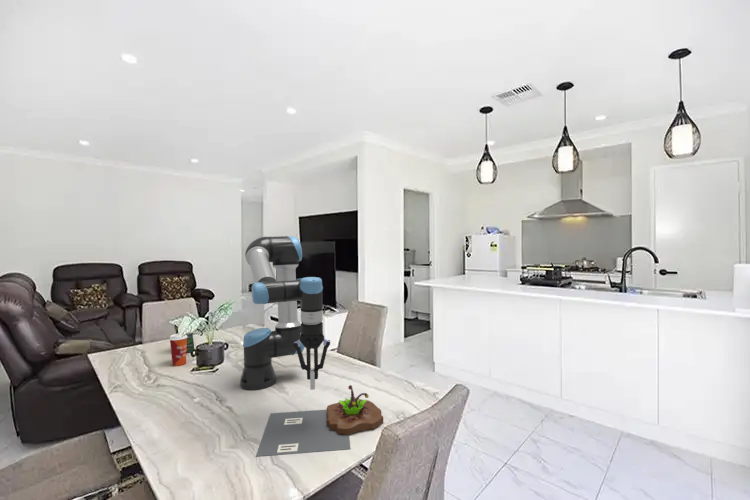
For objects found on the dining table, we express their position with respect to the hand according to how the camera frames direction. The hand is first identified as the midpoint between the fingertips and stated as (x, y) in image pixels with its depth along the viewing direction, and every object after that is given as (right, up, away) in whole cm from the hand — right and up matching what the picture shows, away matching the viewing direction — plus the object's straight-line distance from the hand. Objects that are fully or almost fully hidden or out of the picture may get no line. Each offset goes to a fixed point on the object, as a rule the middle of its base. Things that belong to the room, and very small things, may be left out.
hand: (312, 387), depth 128 cm
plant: (+14, -11, +1) cm, 18 cm away
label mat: (-1, -12, -6) cm, 13 cm away
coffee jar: (-85, -9, +77) cm, 115 cm away
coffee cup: (-78, -10, +57) cm, 97 cm away
